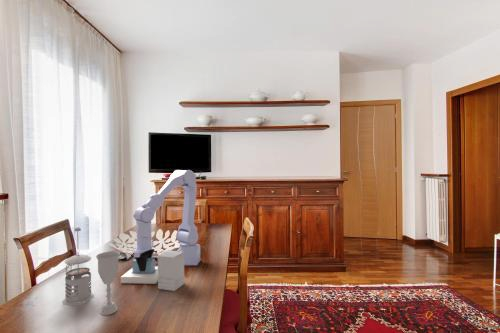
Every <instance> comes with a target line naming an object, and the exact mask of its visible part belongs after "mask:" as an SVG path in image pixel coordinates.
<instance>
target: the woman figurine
mask: <svg viewBox="0 0 500 333" xmlns="http://www.w3.org/2000/svg"><path fill="white" fill-rule="evenodd" d="M119 252H120V254H119V256H118V261H119V260H121V259H125V258H126V260H129V259H130V258H131V257H132V256H131V255H129V254H125V253H123V252H122V251H119Z"/></svg>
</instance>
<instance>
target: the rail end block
mask: <svg viewBox="0 0 500 333" xmlns="http://www.w3.org/2000/svg"><path fill="white" fill-rule="evenodd" d="M131 265H132V266H131V269H133V274H154V273H155V266H156V258H155V257H151V258H147V262H146V269H145V271H140V270H139V267H138V264H137V261H136V259H135V258H134V259H132V264H131Z"/></svg>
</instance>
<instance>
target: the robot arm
mask: <svg viewBox="0 0 500 333" xmlns="http://www.w3.org/2000/svg"><path fill="white" fill-rule="evenodd" d="M177 186H180V187H182V189H184V198H183V210H182V220H181V221H182V222H181V224H180V225H179V226H178V229H177V232H176V235H175V237H176V238H175V239H176V241H177V242H178V245H179V251H180V252H184V266H198V265H199V263H200V261H201V260H202V259H201V244H199V243H197V242H198V240H199V233H198V227H197V226H196V224H195V215H196V203H197V201H196V200H197V191H198V190H197V189H198V185H197V175H196V174H195V173H194V171H192V170H190V169H187V170H186V169H185V170H182V169H175V170H174V171H173V173H172V174H170V176H169V178H168V180H167V181H166V182H165V184H164V185H163V186H162V187H161V188H160V190H158V192H157V193H156V192H155V193H153V194H150V195H149V198H148V199H147V200H146V201H145V202H144V203H142V204H141V206H140V207H138V208H137V209H135V211H134V214H133V218H134V220H135V222H136V245H135V246H134V248H133V249H136V251H135V252H134V254H133V258H134V259H136V261H137V264H138V267H139V270H140V271H145V269H146V262H147V258H153V255H154V252H155V249H154V248H153V247H154V242H152V241H153V240H152V221H153V220H154V218H155V214H156V212H157V211H158V210H159V208H160V207H161V206H162V205H163V204H164V203H165V198H166V197H167V196H168V195H169V194H170V193H171V191H172V190H174V188H176V187H177Z"/></svg>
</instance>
